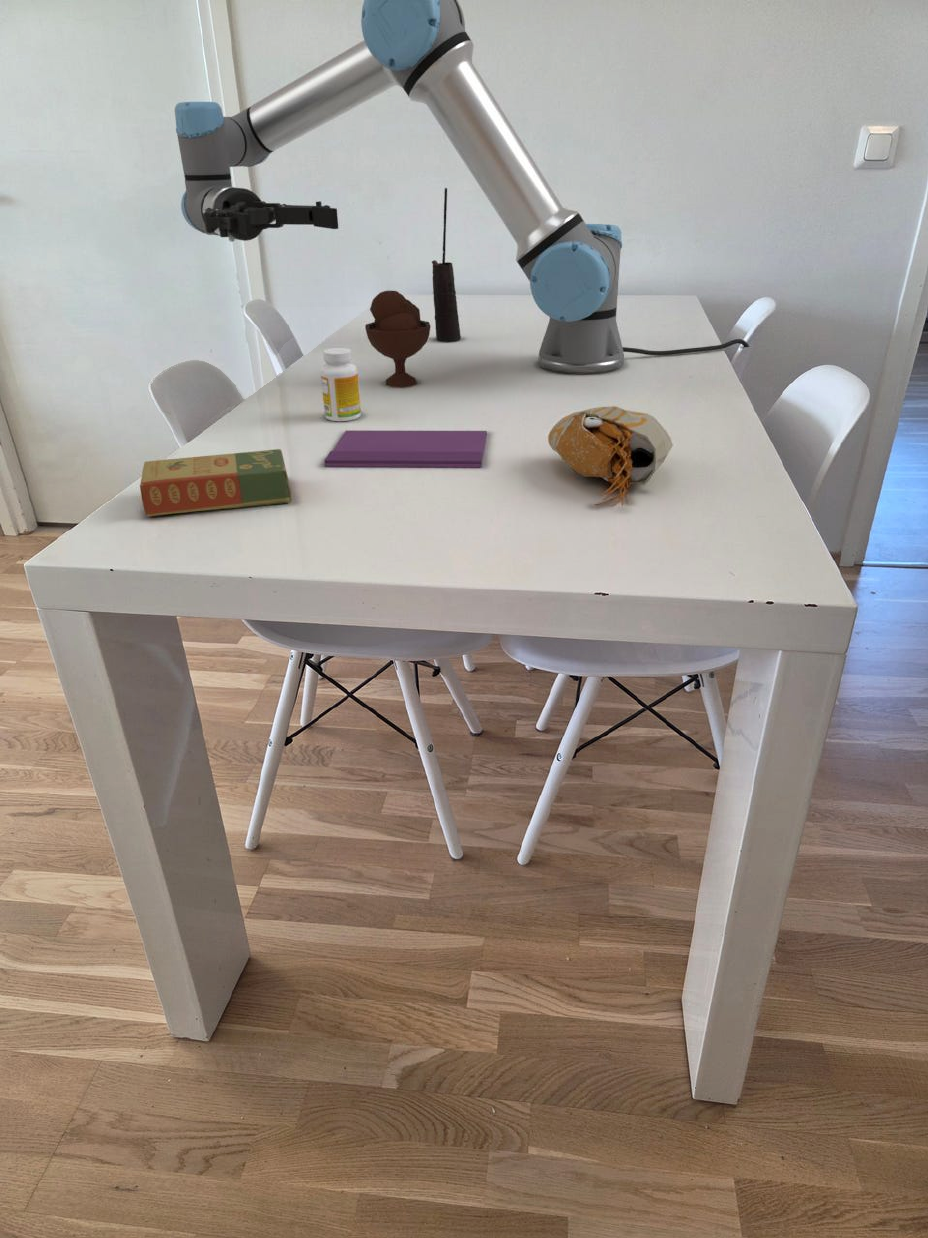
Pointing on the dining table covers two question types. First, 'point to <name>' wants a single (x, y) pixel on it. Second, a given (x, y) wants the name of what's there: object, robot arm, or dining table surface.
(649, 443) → the nautilus
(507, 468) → the dining table surface
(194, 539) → the dining table surface
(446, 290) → the butter churn
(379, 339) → the ice cream bowl
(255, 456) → the carton
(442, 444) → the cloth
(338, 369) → the supplement bottle
